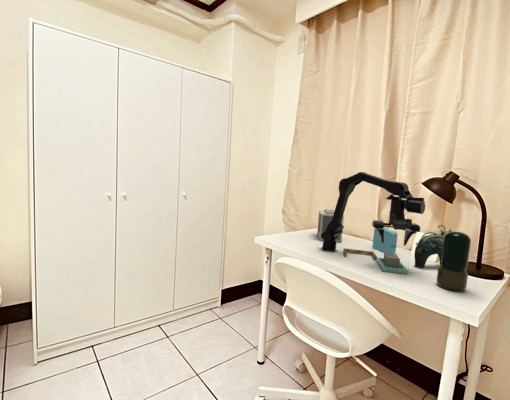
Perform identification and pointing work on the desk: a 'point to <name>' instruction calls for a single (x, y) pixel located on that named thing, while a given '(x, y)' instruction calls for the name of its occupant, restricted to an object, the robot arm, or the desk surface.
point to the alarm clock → (326, 223)
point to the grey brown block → (391, 260)
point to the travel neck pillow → (429, 247)
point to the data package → (385, 241)
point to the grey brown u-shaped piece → (359, 252)
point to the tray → (389, 269)
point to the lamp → (454, 261)
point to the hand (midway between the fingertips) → (393, 244)
